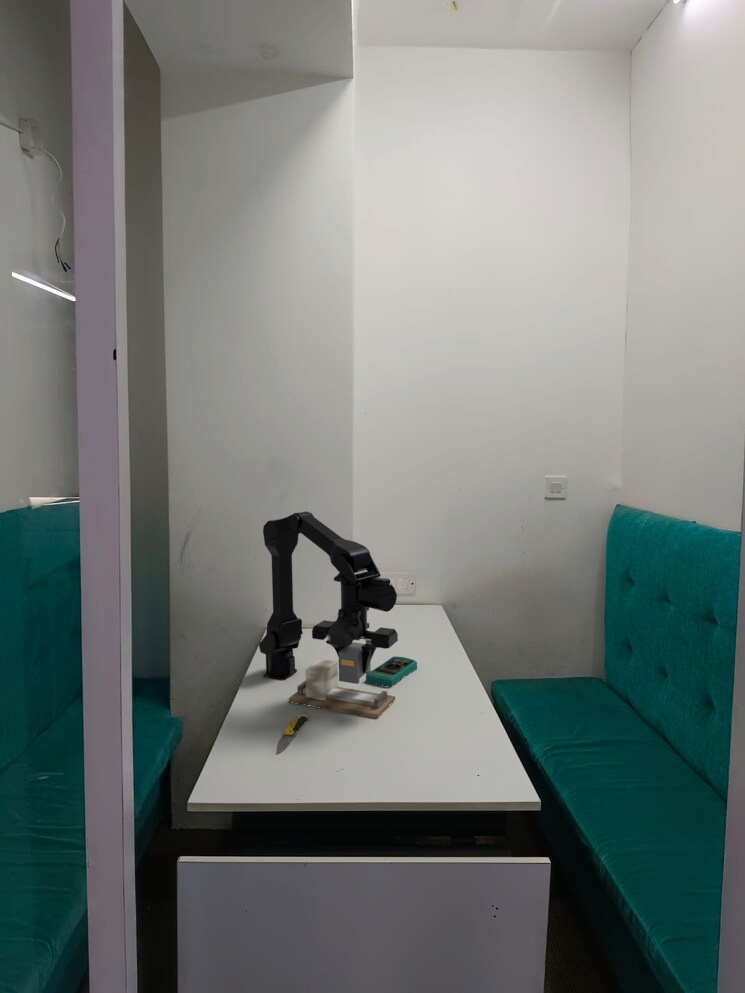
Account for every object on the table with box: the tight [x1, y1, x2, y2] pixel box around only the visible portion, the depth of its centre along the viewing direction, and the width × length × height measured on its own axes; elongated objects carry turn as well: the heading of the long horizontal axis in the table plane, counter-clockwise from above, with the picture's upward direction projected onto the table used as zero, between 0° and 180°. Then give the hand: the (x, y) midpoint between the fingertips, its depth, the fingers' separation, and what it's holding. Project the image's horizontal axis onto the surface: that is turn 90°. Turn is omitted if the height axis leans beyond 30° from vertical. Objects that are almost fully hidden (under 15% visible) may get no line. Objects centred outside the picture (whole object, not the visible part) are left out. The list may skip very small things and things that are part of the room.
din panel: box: [288, 658, 396, 720], centre depth 147 cm, size 22×10×8 cm, turn 66°
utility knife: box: [276, 714, 309, 755], centre depth 132 cm, size 16×1×3 cm
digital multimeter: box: [365, 656, 418, 688], centre depth 163 cm, size 7×15×3 cm, turn 150°
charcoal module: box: [338, 641, 372, 685], centre depth 145 cm, size 4×7×7 cm, turn 156°
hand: (354, 671), depth 146 cm, fingers closed on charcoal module, 4 cm apart
